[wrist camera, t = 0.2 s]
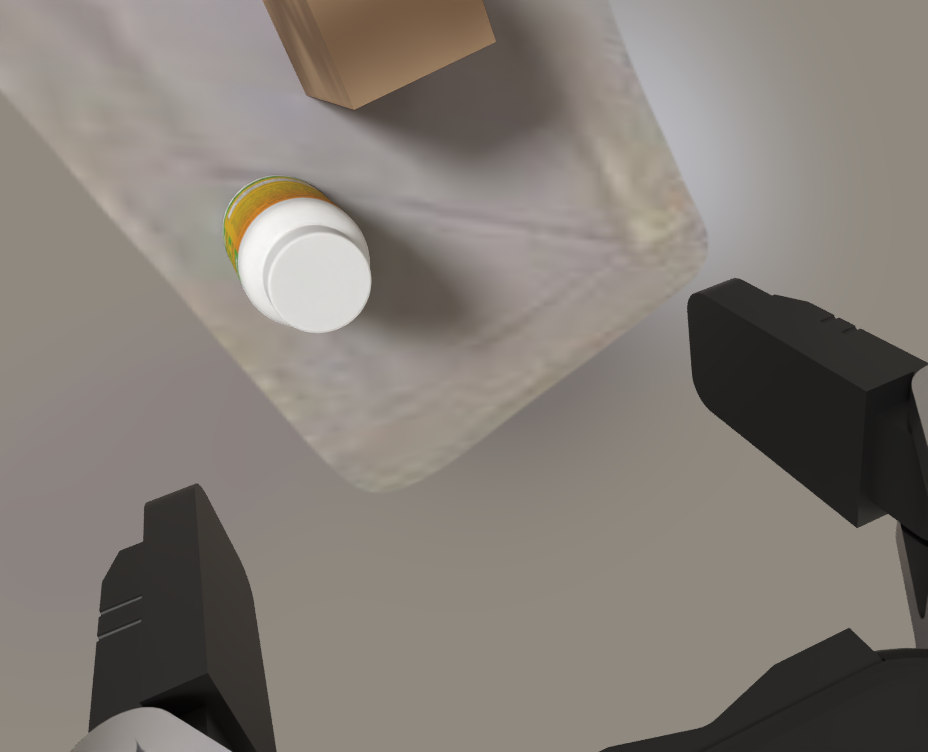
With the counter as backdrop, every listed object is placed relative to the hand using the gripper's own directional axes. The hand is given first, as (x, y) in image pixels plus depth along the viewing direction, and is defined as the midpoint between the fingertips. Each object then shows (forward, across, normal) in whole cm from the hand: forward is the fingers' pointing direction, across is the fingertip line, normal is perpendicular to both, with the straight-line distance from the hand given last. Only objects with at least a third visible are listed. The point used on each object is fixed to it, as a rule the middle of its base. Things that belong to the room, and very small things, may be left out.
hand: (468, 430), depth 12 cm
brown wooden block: (+29, -5, -4) cm, 29 cm away
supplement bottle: (+28, +1, +5) cm, 28 cm away
